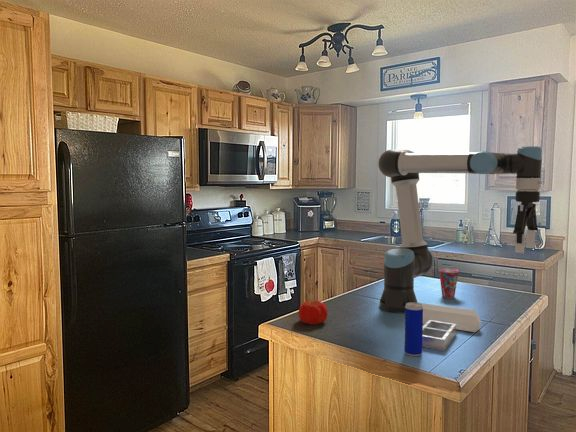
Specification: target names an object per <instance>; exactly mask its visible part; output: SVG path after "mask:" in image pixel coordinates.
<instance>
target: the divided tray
mask: <svg viewBox="0 0 576 432" xmlns="http://www.w3.org/2000/svg"><path fill="white" fill-rule="evenodd" d="M456 335H457V329H456V324H452V323H446V322H440V321H433V320H428V321H427V322H426V324H423V338H422V348H427V349H431V350H437V351H440V352H441V351H442V352H445V351H446V349H448V347H449V345H450V344H451V343H452V340H454V338H455V337H456Z"/></svg>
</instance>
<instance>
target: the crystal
mask: <svg viewBox="0 0 576 432" xmlns="http://www.w3.org/2000/svg"><path fill="white" fill-rule="evenodd" d="M419 303H420V304H422V307H423V325H425V324H426V322H427V321H428V320H433V321H440V322H446V323H452V324H456V330H459V331H465V332H471V333H476V332H478V331H479V330H480V328H481V326H482V325H481V324H482V321H481V318H480V316H479V314H478V313H477V312H476V310H475V309H468V308H461V307H460V308H459V307H453V306H445V305H436V304H429V303H422V302H419Z"/></svg>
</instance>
